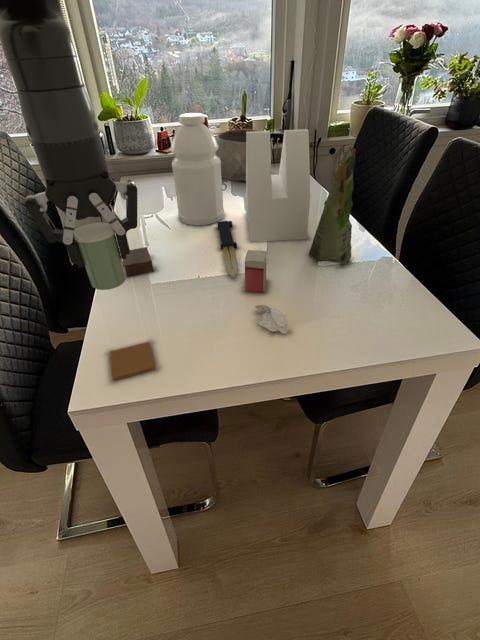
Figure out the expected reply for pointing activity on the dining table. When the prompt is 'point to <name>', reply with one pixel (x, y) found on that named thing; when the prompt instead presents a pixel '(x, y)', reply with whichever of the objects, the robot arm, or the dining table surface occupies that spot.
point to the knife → (228, 246)
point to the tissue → (273, 319)
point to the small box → (255, 271)
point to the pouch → (336, 216)
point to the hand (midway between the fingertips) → (102, 260)
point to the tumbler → (100, 255)
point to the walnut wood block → (138, 262)
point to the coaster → (131, 360)
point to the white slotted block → (278, 187)
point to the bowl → (233, 153)
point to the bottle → (197, 172)
